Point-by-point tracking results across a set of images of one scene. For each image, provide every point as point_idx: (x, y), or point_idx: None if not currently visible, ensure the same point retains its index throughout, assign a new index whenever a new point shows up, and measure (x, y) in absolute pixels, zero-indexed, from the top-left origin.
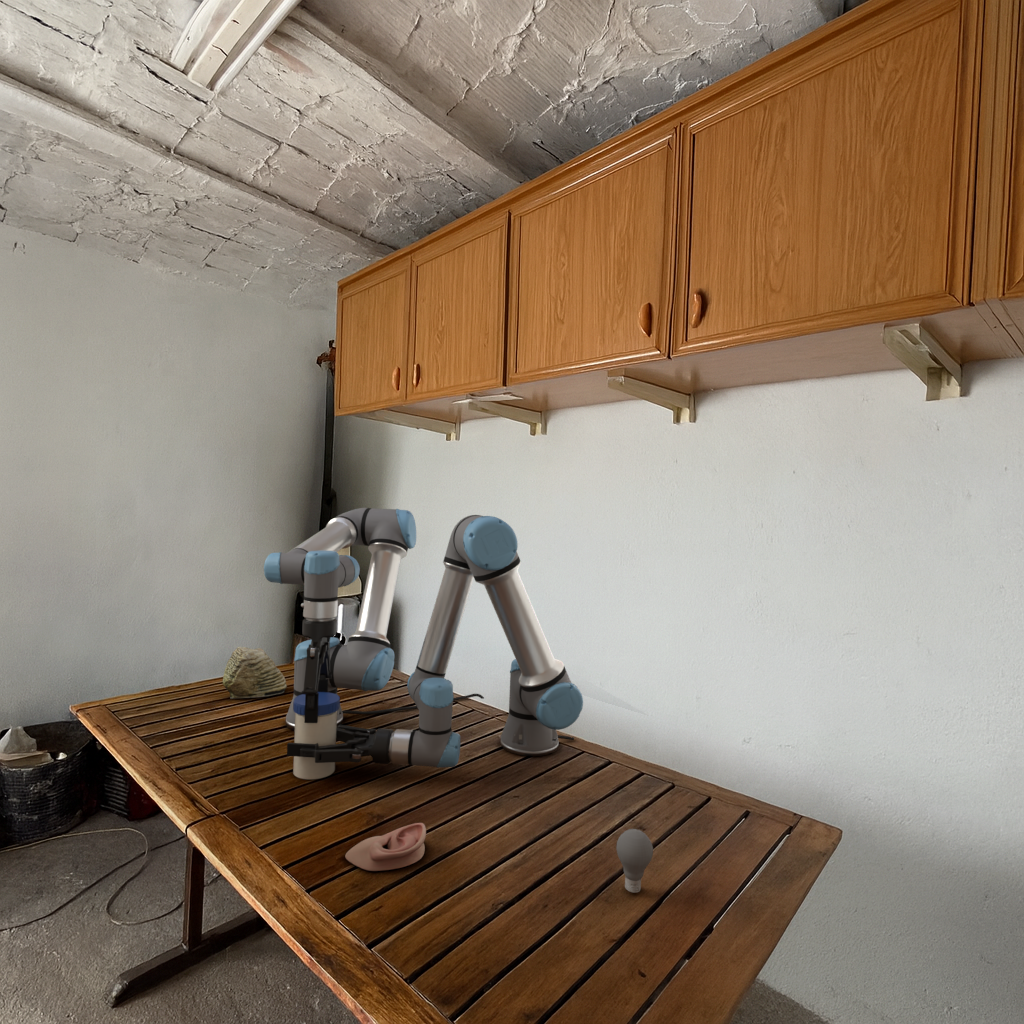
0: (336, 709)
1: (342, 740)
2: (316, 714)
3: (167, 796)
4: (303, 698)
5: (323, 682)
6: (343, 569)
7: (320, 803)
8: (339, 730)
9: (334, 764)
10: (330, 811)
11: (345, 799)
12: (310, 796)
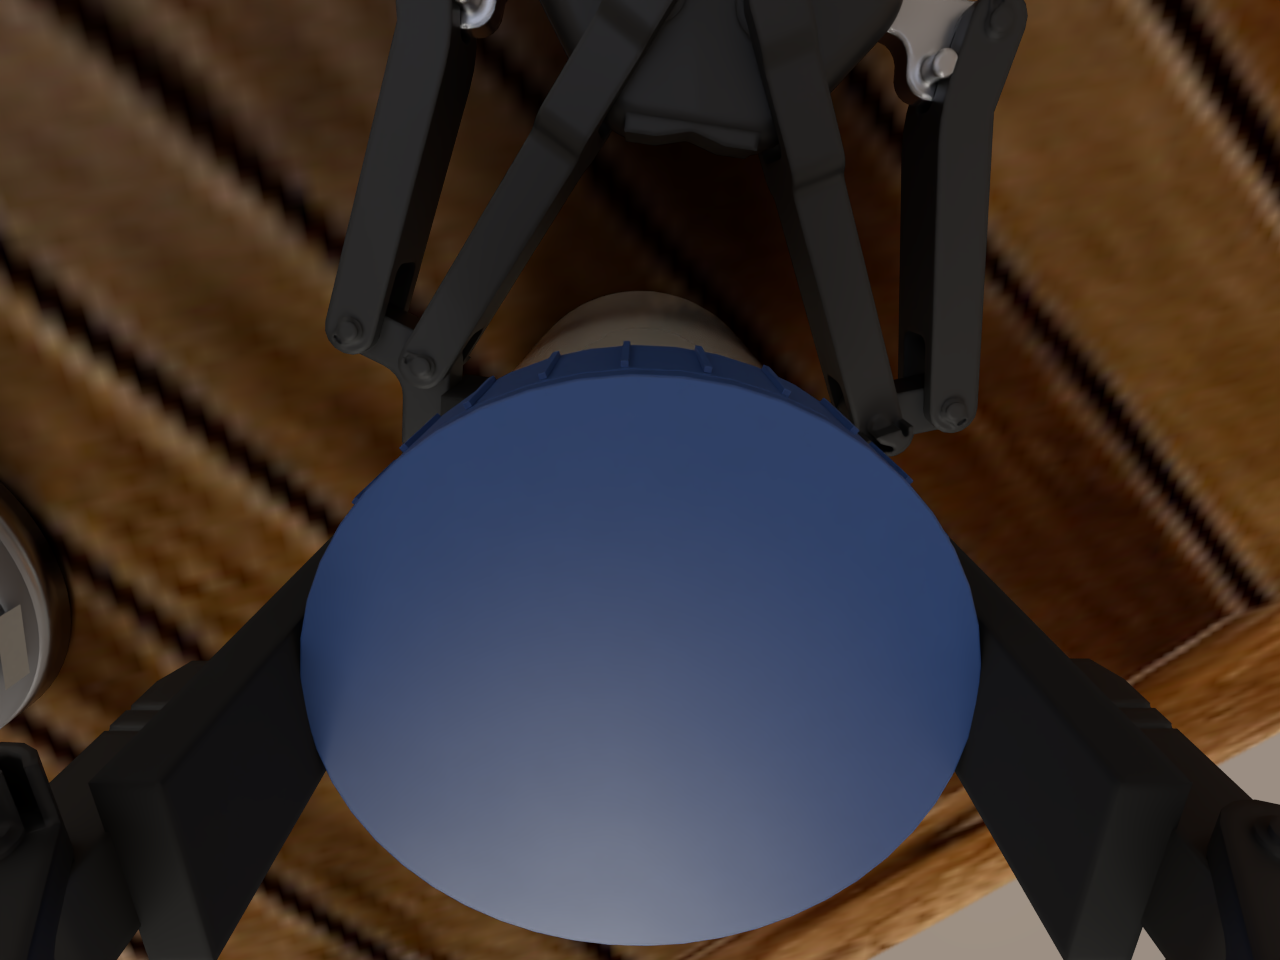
0: (748, 366)
1: (520, 271)
2: (983, 583)
3: (888, 929)
4: (646, 859)
5: (209, 808)
6: None
7: (1082, 289)
8: (475, 316)
9: (654, 295)
10: (1198, 208)
11: (1061, 140)
12: (982, 365)
